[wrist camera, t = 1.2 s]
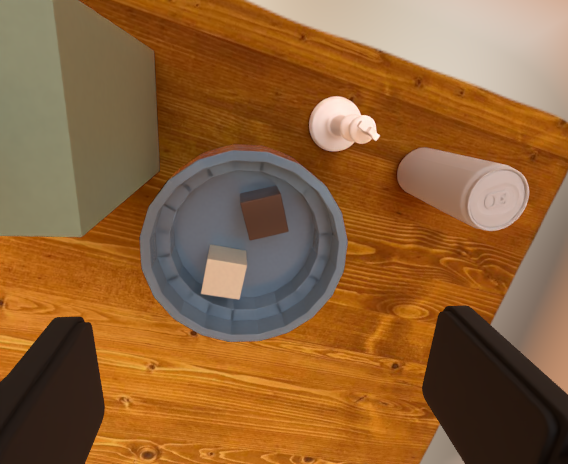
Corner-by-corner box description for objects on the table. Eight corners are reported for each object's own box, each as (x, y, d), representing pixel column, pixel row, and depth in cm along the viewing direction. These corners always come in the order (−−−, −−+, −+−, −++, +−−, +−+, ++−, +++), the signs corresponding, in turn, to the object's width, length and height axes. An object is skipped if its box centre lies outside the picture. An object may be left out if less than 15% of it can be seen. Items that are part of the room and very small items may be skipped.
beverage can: (441, 189, 37) (529, 225, 26) (396, 199, 37) (466, 239, 26) (439, 142, 36) (533, 158, 25) (392, 152, 36) (465, 173, 24)
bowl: (149, 139, 32) (132, 145, 27) (340, 148, 35) (358, 156, 30) (158, 311, 38) (146, 344, 33) (322, 309, 40) (335, 339, 35)
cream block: (210, 244, 36) (207, 258, 32) (246, 250, 36) (247, 265, 33) (203, 276, 37) (200, 294, 33) (239, 282, 37) (239, 299, 34)
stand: (23, 39, 29) (-278, -54, 12) (154, 50, 30) (50, -20, 13) (42, 166, 32) (-174, 233, 15) (160, 170, 33) (82, 237, 17)
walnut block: (239, 193, 34) (239, 202, 31) (276, 185, 35) (280, 193, 31) (248, 228, 36) (249, 241, 32) (284, 220, 36) (289, 232, 32)
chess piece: (330, 84, 33) (368, 76, 23) (370, 118, 34) (421, 122, 25) (298, 130, 34) (322, 140, 24) (338, 161, 35) (376, 181, 26)
